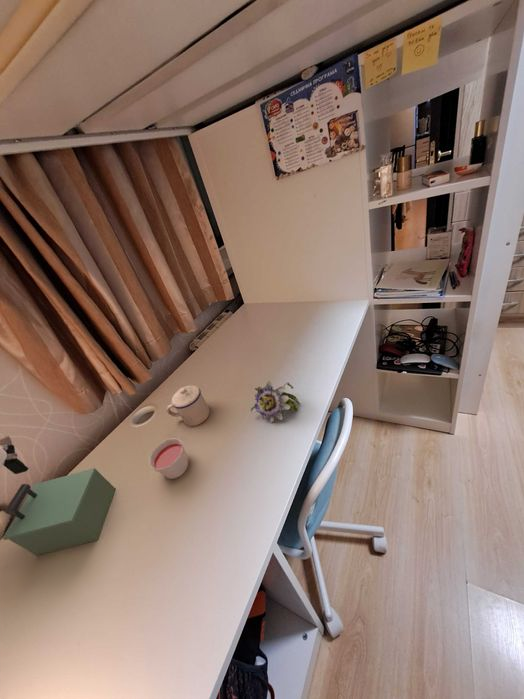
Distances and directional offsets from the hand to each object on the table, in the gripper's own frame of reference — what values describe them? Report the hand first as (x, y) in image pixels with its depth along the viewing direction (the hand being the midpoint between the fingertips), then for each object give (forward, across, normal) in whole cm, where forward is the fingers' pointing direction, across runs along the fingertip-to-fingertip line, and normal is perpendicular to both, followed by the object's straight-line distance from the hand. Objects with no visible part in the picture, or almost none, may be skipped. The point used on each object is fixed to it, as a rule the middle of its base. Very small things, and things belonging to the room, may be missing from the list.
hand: (9, 491), depth 64 cm
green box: (+16, 0, +6) cm, 17 cm away
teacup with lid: (+17, -25, +33) cm, 45 cm away
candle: (+17, -8, +30) cm, 36 cm away
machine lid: (+8, 0, +5) cm, 9 cm away
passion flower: (+17, -18, +60) cm, 65 cm away
